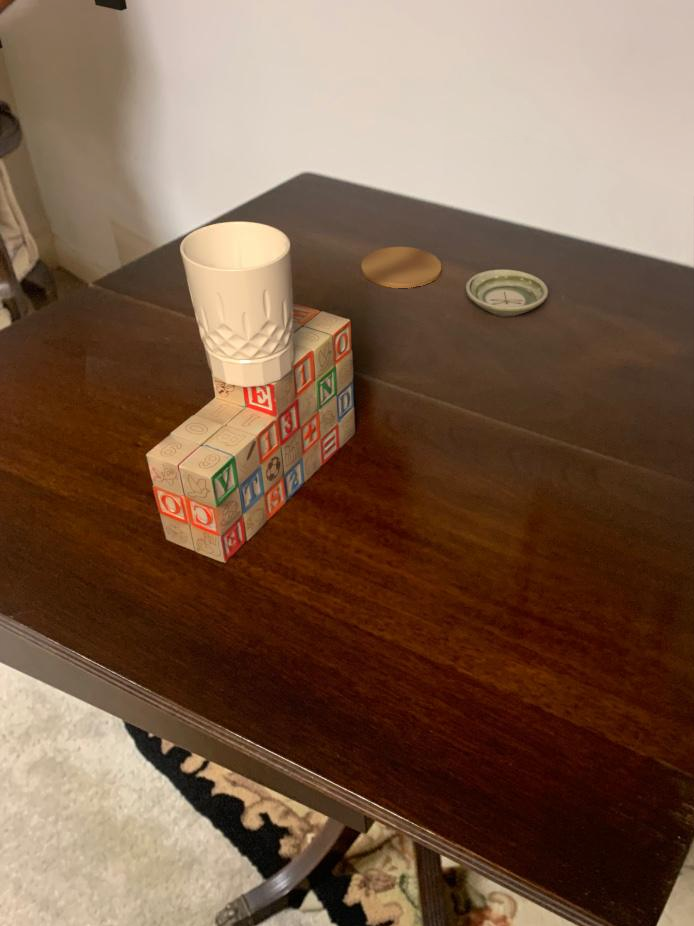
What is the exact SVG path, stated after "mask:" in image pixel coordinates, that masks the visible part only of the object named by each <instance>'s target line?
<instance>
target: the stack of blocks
mask: <svg viewBox="0 0 694 926" xmlns="http://www.w3.org/2000/svg"><path fill="white" fill-rule="evenodd" d="M351 326H352V325H351V320H350V319H349V318H345V317H342V316H338V315H336V314H332V313H329V312H327V311H320V310H318V309H315V308H311V307H307V306H304V305H301V304H297V303H294V302H293V354H294V360H293V365H292V369H291V371H290V372H289V373H287V374H286V375H285V376H284V377H283V378H282V379H280V380H278V381H275V382H272V383H270V384H267V385H263V386H252V387H242V386H236V385H230V384H226V383H225V382H223V381H221V380H219V379H217V378H216V377H214V376H213V374H212V373H211V377H212V383H213V391H214V398H213V399H212V400H210V401H209V402H208V403H207V404H206V405H204V406H203V407H202V408H201V409H199V410H198V411H197V412H196V413H194V415H191V416H190V417H188V418H187V419H186V420H185V421H184V422H182V424H180V425H179V426H178V427H176V428H175V429H174V430H172V431H171V432H170V434H169V435H168V436H166V437H165V438H164V439H162V440H161V441H160V442H159V443H158V444H156V445H155V446H154V447H153V448H152V449H151V450H149V451H147V453H146V454H145V456H146V461H147V464H148V470H149V473H150V478H151V481H152V484H153V485H152V490H153V495H154V499H155V501H156V502H155V503H156V506H157V511H158V513H159V517H160V521H161V524H162V528H163V533H164V537H165V539H166V540H167V541H169V542H171V543H173V544H176V545H179V546H181V547H183V548H185V549H189V550H190V551H194V552H196V553H197V554H199V555H202V556H205V557H207V558H210V559H213V560H215V561H218V562H221V563H227V562H228V561H229V560H230V559H231V557H233V556H234V555H235V554H236V552H237V551H239V550H240V549H241V548H242V546H243V545H244V544H245V543H246V542H248V541H250V539H251V538H253V536H255V535H256V534H257V532H258V531H259V530H260V529H262V528H263V527H264V526H265V524H266V523H267V522H268V521H269V520H270V519H271V518H272V517H274V515H276V513H277V512H278V511H280V509H281V508H282V507H284V505H286V503H287V501H288V500H290V498H291V497H292V496H293V495H294V494H295V493H296V492H297V491H298V490H299V489H300V488H301V487H302V486H303V485H304V484H305V483H306V482H307V481H308V480H309V479H310V478H311V477H312V476H313V475H314V474H315V473H316V472H317V471H318V470H319V469H320V468H321V466H323V465H325V464H326V463H327V462H328V461H330V459H331V458H332V457H333V456H334V455H335V454H336V453H337V452H338V451H339V450H340V449H341V448H342V447H343V446H344V445H345V444H346V443H347V442H348V441H350V439H351V438H352V437H353V436H354V435H355V433H356V420H355V419H356V416H355V415H356V414H355V407H354V406H355V403H354V402H355V401H354V358H353V350H352V327H351Z"/></svg>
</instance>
